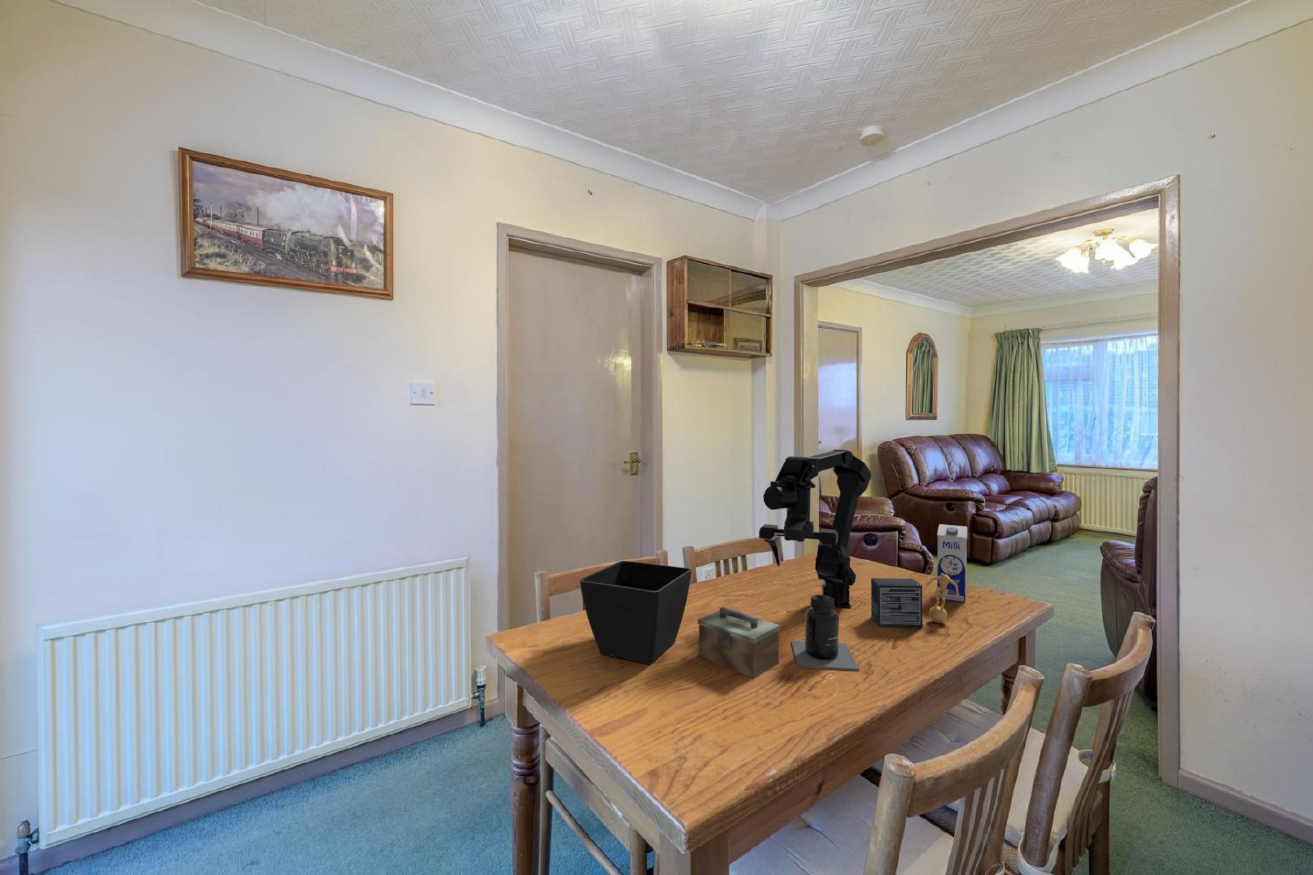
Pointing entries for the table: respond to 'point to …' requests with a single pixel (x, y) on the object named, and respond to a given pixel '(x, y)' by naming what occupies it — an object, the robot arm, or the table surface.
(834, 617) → the supplement bottle
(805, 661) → the mat
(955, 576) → the milk carton
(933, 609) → the figurine
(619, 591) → the flower pot
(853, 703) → the table surface
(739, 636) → the toolbox
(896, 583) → the small box
